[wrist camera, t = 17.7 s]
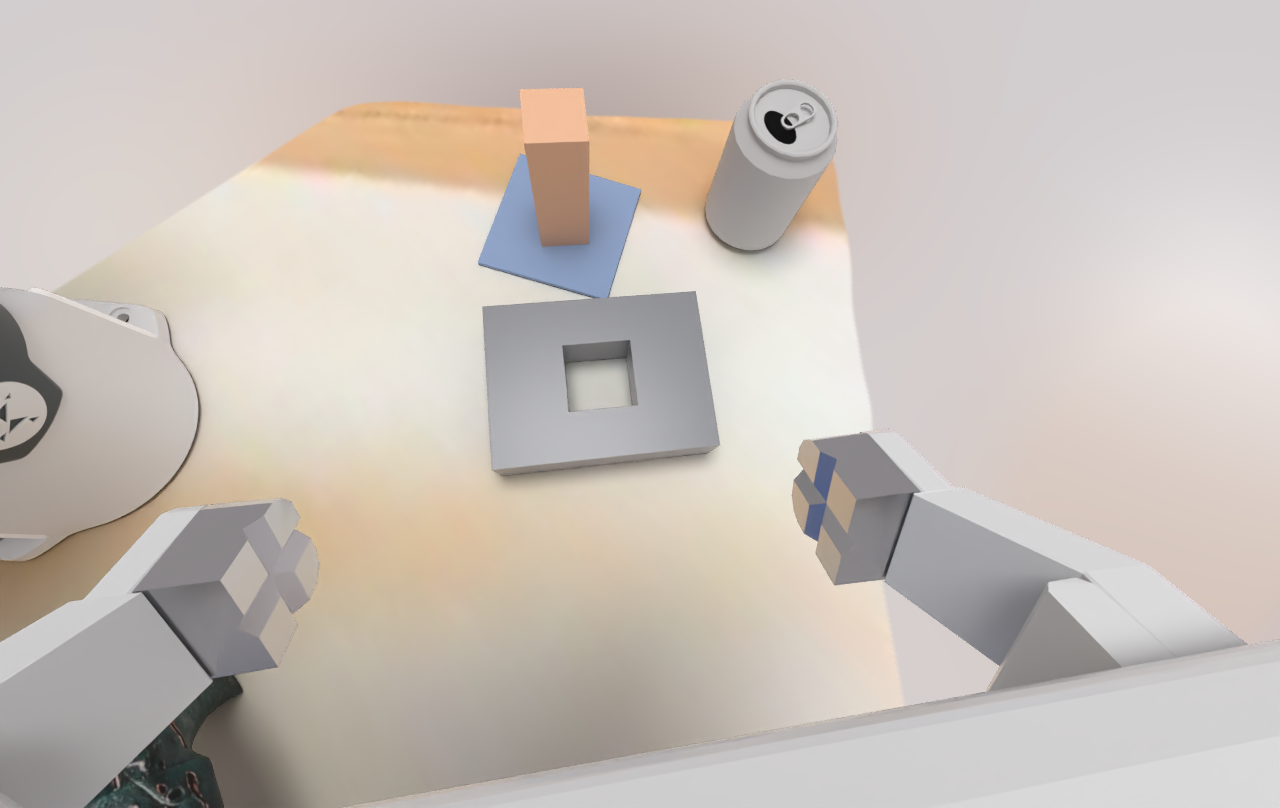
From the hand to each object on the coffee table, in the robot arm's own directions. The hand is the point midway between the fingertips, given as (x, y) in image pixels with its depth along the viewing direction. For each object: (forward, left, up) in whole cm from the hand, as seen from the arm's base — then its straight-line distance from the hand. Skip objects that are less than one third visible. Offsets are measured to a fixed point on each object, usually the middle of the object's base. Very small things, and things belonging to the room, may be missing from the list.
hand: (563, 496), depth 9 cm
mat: (-9, +23, -31) cm, 40 cm away
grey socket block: (-2, +10, -31) cm, 33 cm away
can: (+6, +29, -32) cm, 43 cm away
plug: (-9, +23, -31) cm, 40 cm away
